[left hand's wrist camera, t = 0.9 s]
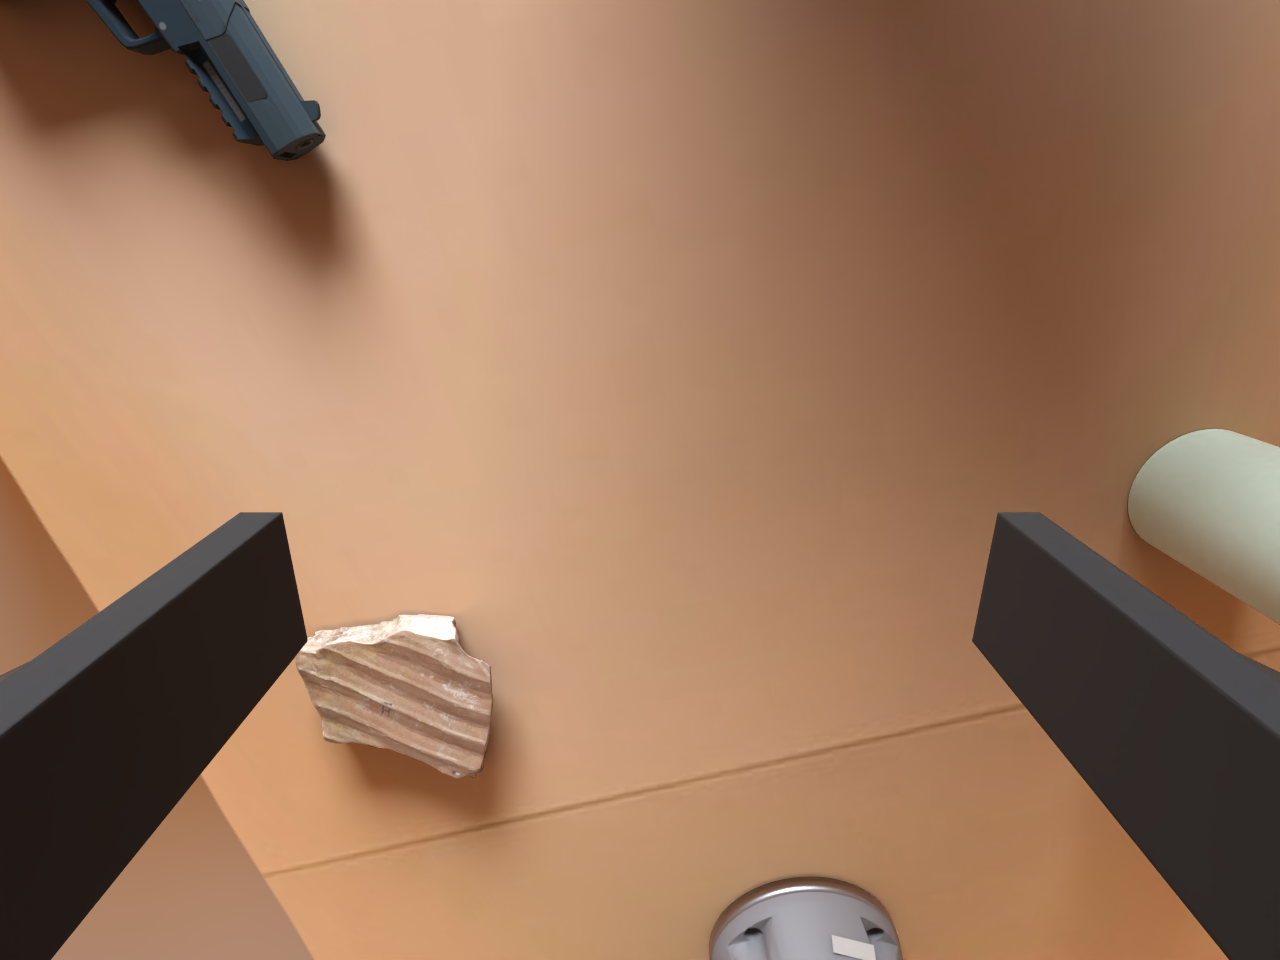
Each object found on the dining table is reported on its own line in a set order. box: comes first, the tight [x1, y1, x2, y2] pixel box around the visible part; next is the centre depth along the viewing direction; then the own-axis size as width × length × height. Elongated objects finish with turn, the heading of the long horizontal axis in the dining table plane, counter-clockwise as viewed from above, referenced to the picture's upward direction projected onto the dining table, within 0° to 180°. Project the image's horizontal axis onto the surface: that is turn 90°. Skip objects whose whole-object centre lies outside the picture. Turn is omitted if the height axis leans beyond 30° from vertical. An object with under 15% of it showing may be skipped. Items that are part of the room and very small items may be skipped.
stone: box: [295, 614, 493, 779], centre depth 46 cm, size 13×12×3 cm
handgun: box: [86, 0, 326, 161], centre depth 32 cm, size 3×18×12 cm
